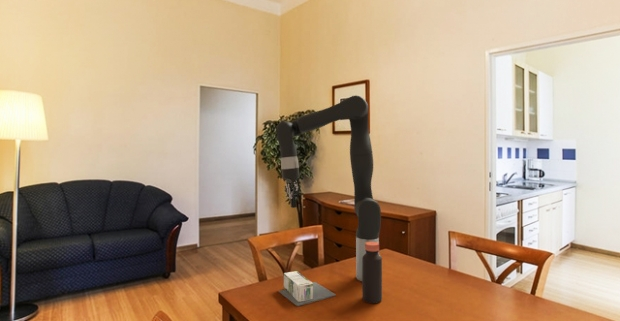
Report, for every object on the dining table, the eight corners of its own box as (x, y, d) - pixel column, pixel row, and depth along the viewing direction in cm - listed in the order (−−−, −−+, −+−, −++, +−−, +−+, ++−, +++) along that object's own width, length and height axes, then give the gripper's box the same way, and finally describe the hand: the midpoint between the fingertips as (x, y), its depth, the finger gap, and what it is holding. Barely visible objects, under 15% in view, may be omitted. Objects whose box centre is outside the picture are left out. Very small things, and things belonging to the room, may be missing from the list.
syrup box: (296, 285, 131) (314, 299, 118) (282, 287, 128) (299, 302, 115) (296, 270, 131) (314, 283, 118) (282, 272, 128) (299, 286, 115)
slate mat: (314, 283, 134) (314, 281, 134) (335, 295, 122) (335, 294, 122) (278, 292, 125) (278, 290, 125) (297, 306, 113) (297, 305, 113)
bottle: (370, 305, 114) (370, 247, 114) (358, 297, 120) (358, 242, 120) (385, 301, 117) (385, 244, 117) (373, 294, 123) (373, 240, 123)
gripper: (303, 166, 141) (307, 207, 140) (292, 167, 153) (296, 205, 153) (287, 168, 138) (290, 210, 137) (277, 168, 150) (280, 207, 150)
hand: (293, 207), depth 145 cm, fingers closed
